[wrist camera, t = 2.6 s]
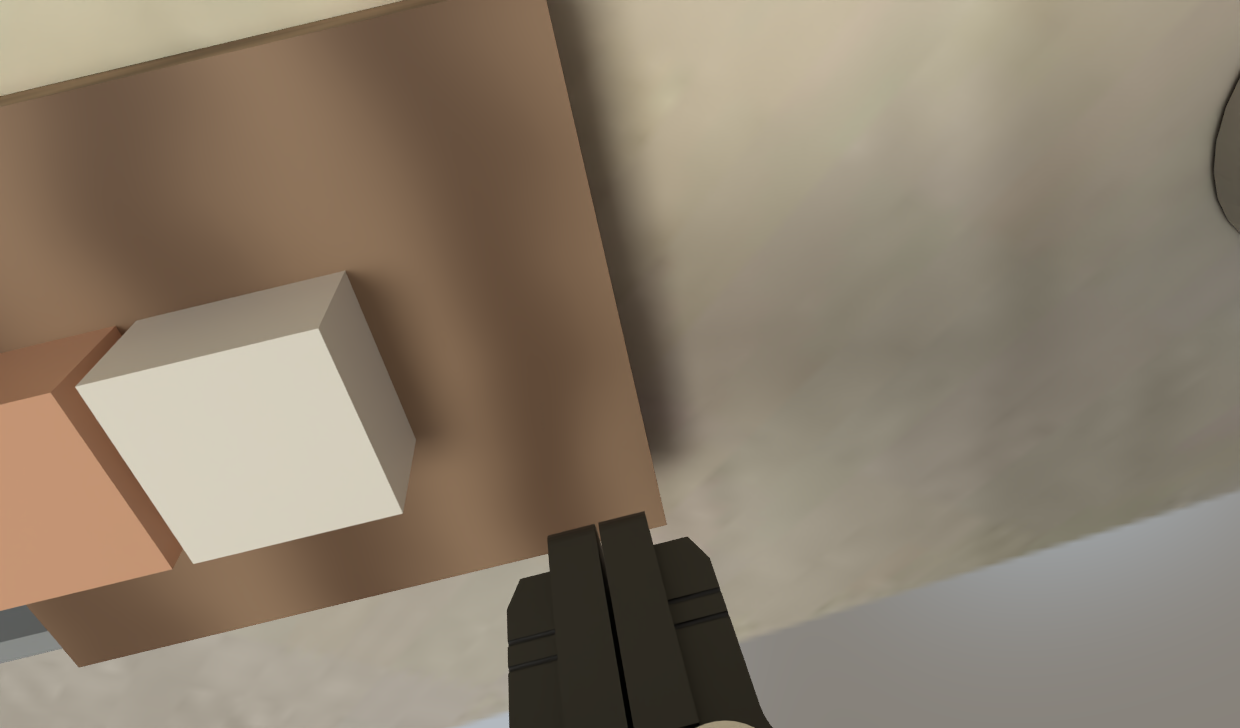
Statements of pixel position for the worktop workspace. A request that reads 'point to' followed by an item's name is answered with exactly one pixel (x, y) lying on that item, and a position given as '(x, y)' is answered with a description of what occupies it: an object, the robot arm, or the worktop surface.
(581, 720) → the robot arm
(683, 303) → the worktop surface
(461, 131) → the walnut board
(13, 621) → the tray
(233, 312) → the ivory square block
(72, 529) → the terracotta tile
